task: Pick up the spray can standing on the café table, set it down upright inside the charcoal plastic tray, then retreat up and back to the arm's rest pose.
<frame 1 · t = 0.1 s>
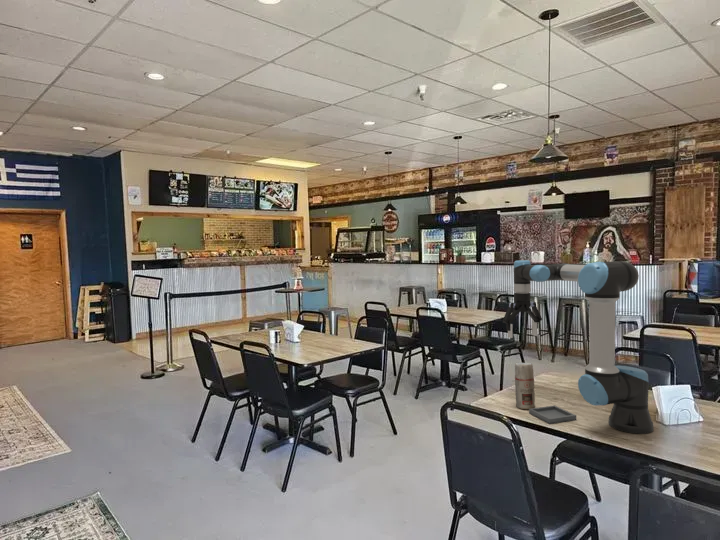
hand: (522, 336, 223), 28 cm above the table, fingers open, 13 cm apart
tray: (552, 416, 194), on the table
spray can: (525, 407, 206), on the table
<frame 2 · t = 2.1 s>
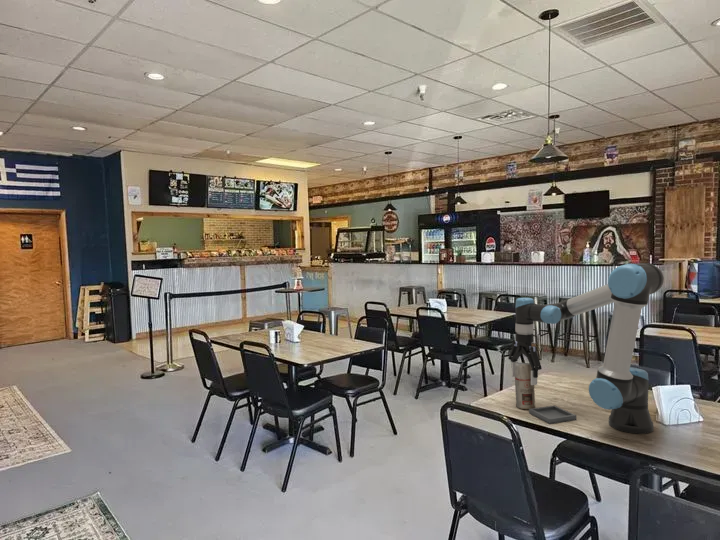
hand: (524, 380, 206), 12 cm above the table, fingers open, 13 cm apart
nothing on the table moved.
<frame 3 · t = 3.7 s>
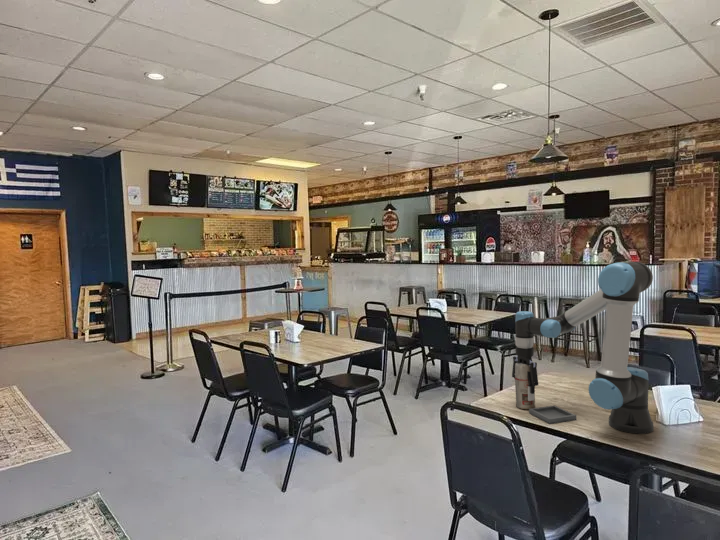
hand: (524, 397, 206), 4 cm above the table, fingers closed on spray can, 8 cm apart
spray can: (525, 407, 206), on the table, touching gripper
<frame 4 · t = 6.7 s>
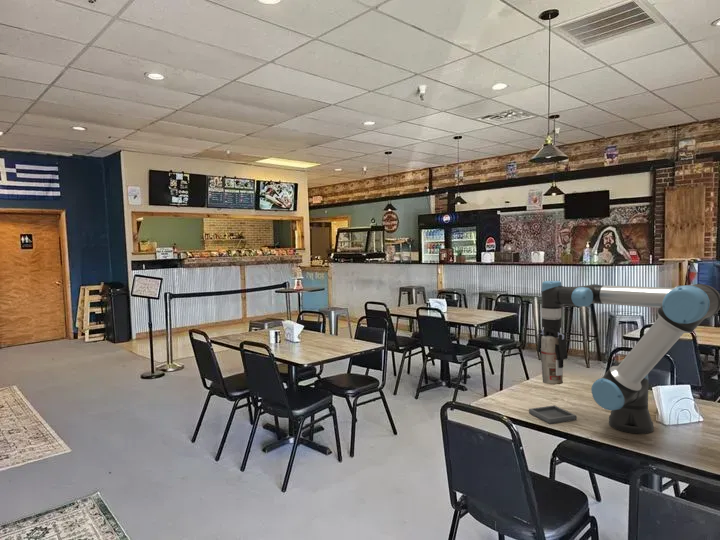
hand: (551, 372, 193), 19 cm above the table, fingers closed on spray can, 8 cm apart
spray can: (552, 383, 193), point 14 cm above the table, touching gripper
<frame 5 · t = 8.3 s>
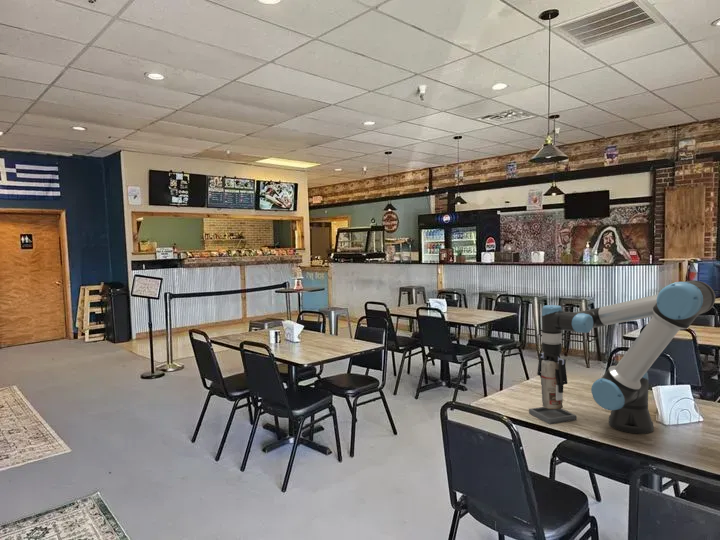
hand: (551, 396, 193), 8 cm above the table, fingers closed on spray can, 8 cm apart
spray can: (551, 407, 193), point 4 cm above the table, touching gripper
when the fingers open (6 cm above the table, at t = 9.7 s): spray can drops 1 cm, resting on tray.
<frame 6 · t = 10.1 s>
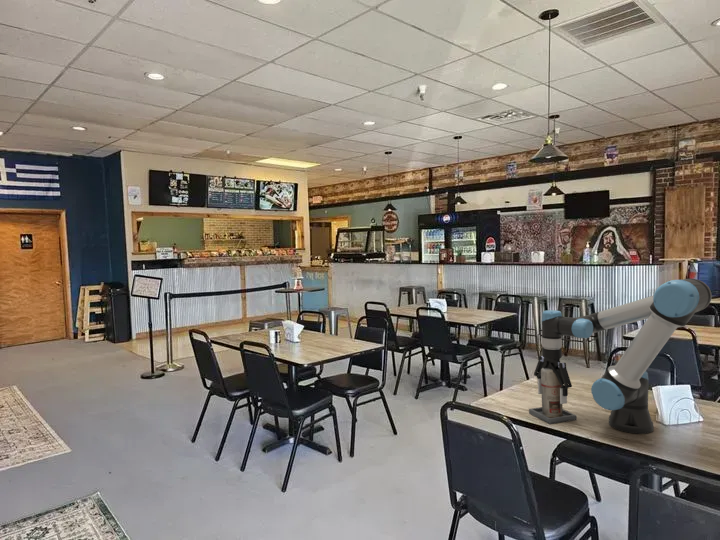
hand: (552, 398, 193), 8 cm above the table, fingers open, 13 cm apart
spray can: (551, 415, 194), resting on tray
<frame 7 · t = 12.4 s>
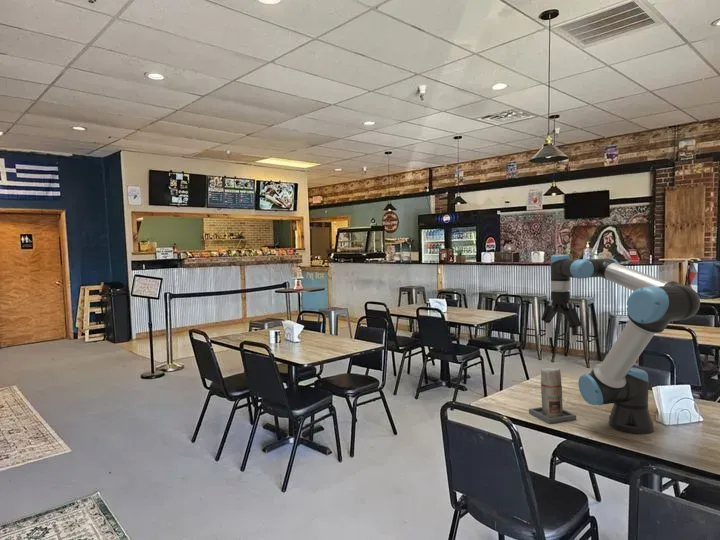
hand: (560, 340, 199), 31 cm above the table, fingers open, 13 cm apart
nothing on the table moved.
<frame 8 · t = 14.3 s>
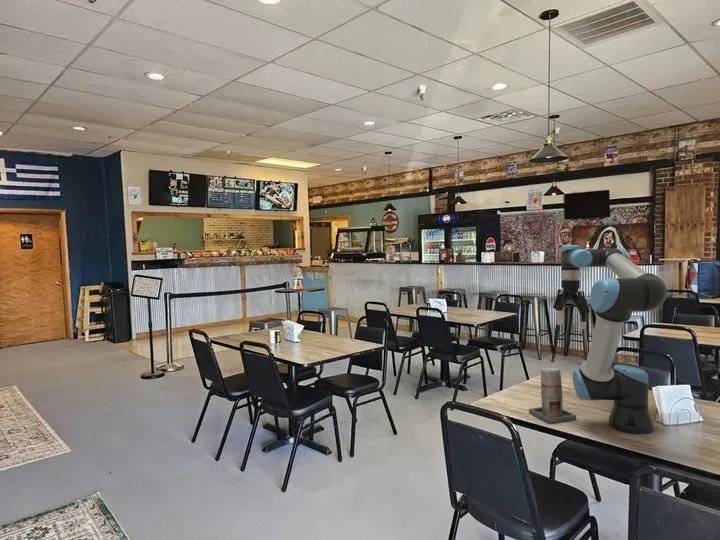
hand: (570, 326, 208), 35 cm above the table, fingers open, 13 cm apart
nothing on the table moved.
at the end: spray can inside the target area on the tray (0.2 cm from its centre), point 0.4 cm above the tray's base; spray can tilted 0°; the gripper is holding nothing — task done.
